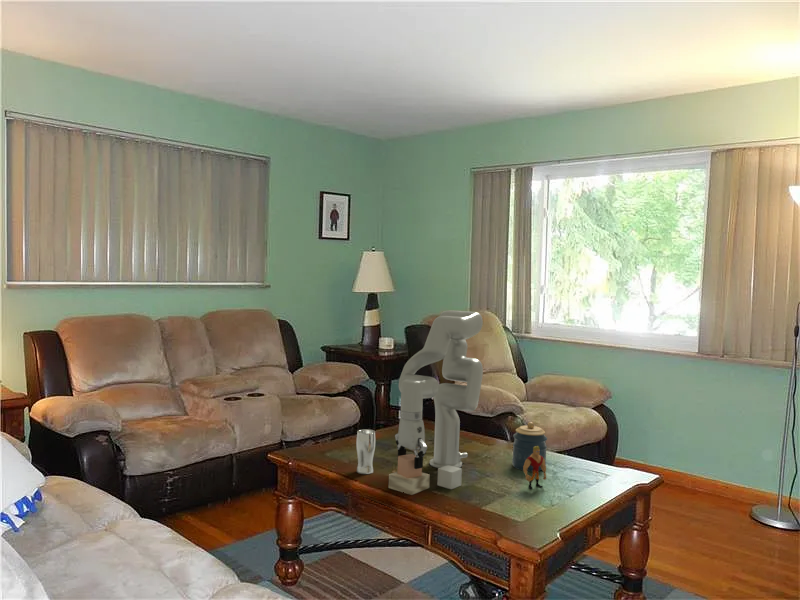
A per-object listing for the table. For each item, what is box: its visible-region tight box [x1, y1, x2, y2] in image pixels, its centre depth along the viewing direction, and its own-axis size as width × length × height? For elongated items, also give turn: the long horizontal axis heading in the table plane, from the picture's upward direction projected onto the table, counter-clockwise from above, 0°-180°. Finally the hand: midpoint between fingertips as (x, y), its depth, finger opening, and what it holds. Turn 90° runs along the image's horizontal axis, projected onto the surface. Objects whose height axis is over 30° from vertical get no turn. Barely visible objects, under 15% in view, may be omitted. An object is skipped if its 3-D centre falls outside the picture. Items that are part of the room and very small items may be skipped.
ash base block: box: [388, 470, 431, 496], centre depth 220 cm, size 10×10×5 cm
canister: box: [511, 421, 548, 472], centre depth 248 cm, size 13×13×18 cm
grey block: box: [437, 465, 463, 490], centre depth 224 cm, size 6×6×6 cm
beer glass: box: [356, 428, 376, 475], centre depth 235 cm, size 7×7×15 cm
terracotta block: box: [396, 453, 423, 478], centre depth 220 cm, size 6×6×6 cm
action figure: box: [522, 446, 547, 490], centre depth 224 cm, size 10×4×15 cm, turn 114°
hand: (410, 464), depth 220 cm, fingers open, 9 cm apart
